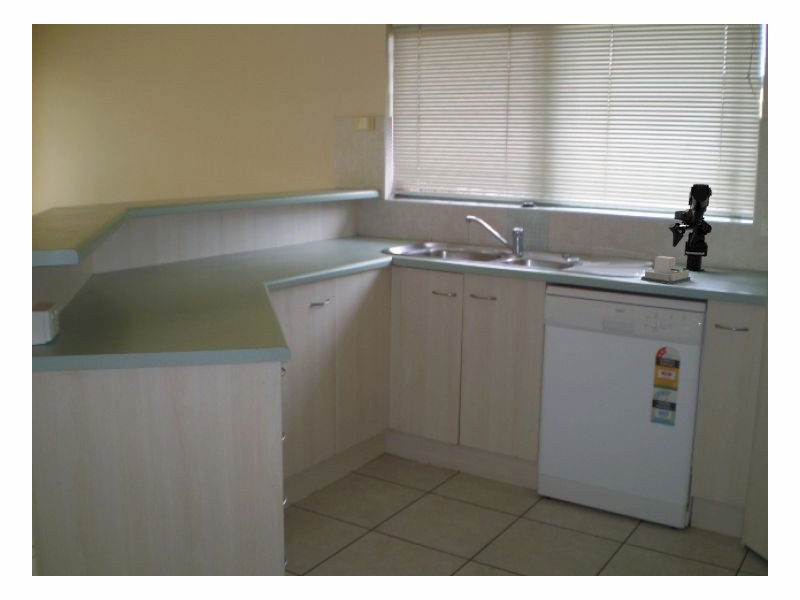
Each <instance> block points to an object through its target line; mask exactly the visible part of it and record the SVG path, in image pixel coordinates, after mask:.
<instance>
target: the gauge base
mask: <svg viewBox="0 0 800 600" xmlns="http://www.w3.org/2000/svg"><path fill="white" fill-rule="evenodd" d="M689 273H690V270H683V269H682V270H679V271H675V272H673V273H671V274H664V273H657V272H654V271H651V270H650V271H649V270H646V271H644V275H643V276H641V277H640V280H641V281H646V282H654V283H660V284H667V285H676V284H679V283H684V282H687V281H688V282H689V281H691V276H689V275H690V274H689Z"/></svg>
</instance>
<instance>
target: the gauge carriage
mask: <svg viewBox="0 0 800 600" xmlns="http://www.w3.org/2000/svg"><path fill="white" fill-rule="evenodd" d="M676 259H677V258H676V257H674V256H666V255H665V256H664V255H659V256H654V269H653V272H657V273H664V274H671V273H673V272H677V271H680V269H678V268H676Z"/></svg>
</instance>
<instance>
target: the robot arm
mask: <svg viewBox="0 0 800 600" xmlns="http://www.w3.org/2000/svg"><path fill="white" fill-rule="evenodd" d="M688 194H689V195H688V205H687V206H689V208H686V209H685V210H676V211H674V218H673V219H674V220H675V221H676V220H678V221H680V222H670V223H669V225H668V227H667V229H668V230H669V231H670V232H672V246H673V247H674V248H676V247H677V246H678V245H679V243H680V242H681V240H682V239H683V238H684V236H685V234H686V231H691V232H688V235H687V238H686V239H687V240H686V241H684V242H685V243H684V256H685V257H687V258H686V266H685V267H683V268H682V271H683V270H689V272H690V271H691V272H701V271H705V268H702V265H703V264H702V263H703V257H708V249H709V246H708V242H706V235H707V236H708V234H711V232H712V231H713V227H712V225H711V224H710V223H708V222H707V221H706V220H705V219H706V218H705V217H704V215H705V213H706V212H707V210H708V209H707V208H708V207H709V206H710V205H709V204H710V197H712V196H713V190H712V188H711V187H710V185H709V184H708V183H707V184H706V183H693V184H692V186H690V191H689V193H688ZM682 224H683V225H682Z"/></svg>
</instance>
